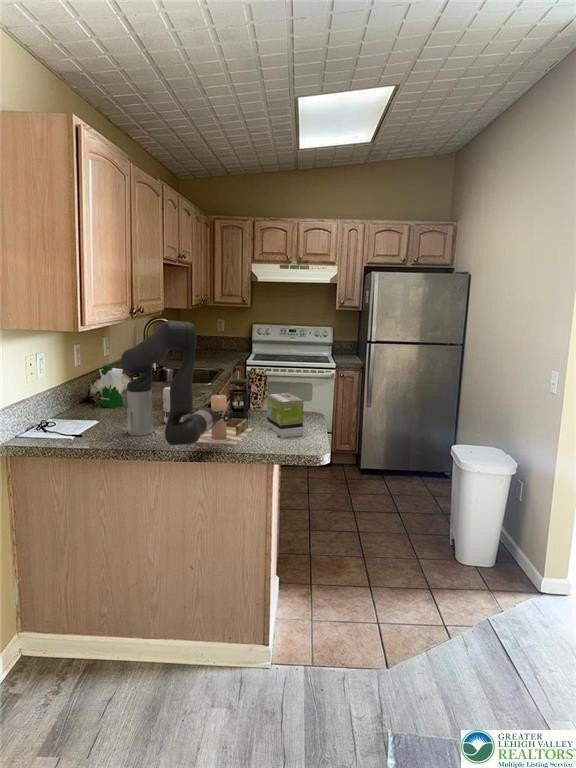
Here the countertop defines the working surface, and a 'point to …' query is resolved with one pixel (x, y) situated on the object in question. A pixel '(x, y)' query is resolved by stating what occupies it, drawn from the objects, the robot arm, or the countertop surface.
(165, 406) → the supplement can
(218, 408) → the dome-topped peach cylinder
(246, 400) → the french press
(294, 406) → the tea box
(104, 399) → the milk carton
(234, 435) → the dock
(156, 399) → the countertop surface
